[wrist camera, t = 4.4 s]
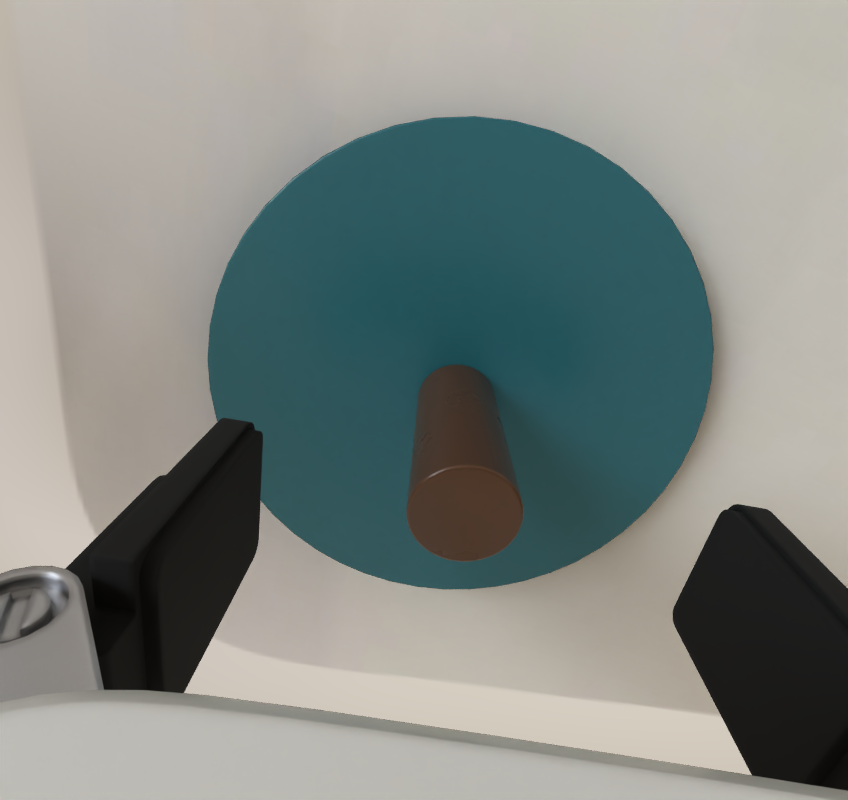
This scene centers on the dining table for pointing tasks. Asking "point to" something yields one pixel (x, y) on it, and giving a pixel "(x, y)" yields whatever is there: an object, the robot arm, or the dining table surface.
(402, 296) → the lid
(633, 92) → the dining table surface
